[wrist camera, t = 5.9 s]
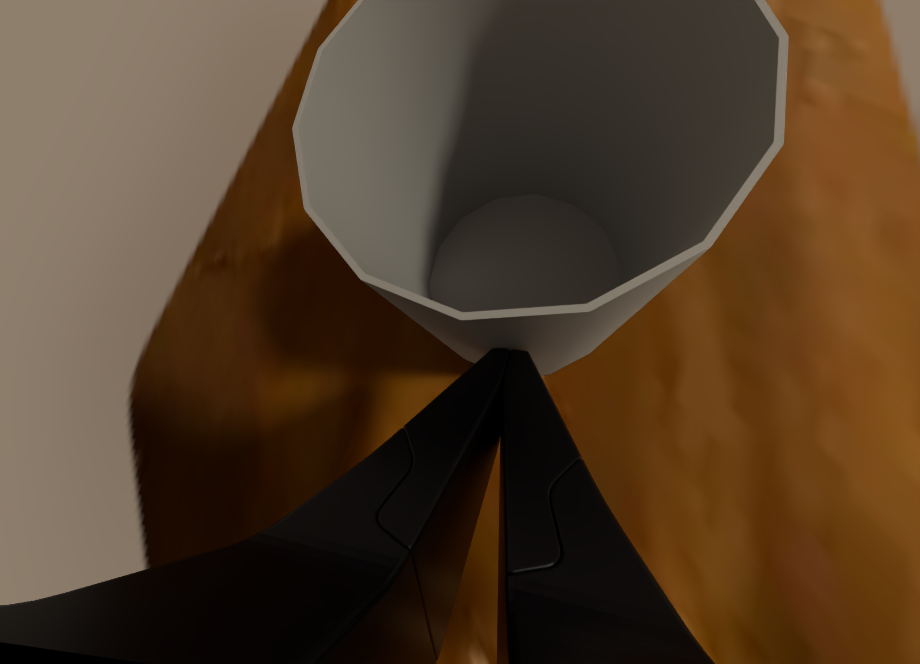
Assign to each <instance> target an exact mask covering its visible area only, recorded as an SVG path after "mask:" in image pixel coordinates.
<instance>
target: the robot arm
mask: <svg viewBox="0 0 920 664" xmlns="http://www.w3.org/2000/svg"><path fill="white" fill-rule="evenodd" d="M500 437H501V440H500ZM499 442H500V488H499V556H498V624H497V664H715V663H714V662H713V661H712V659H711V658H710V657H709V656H708V655H707V653H706V652H705V651H704V650H703V648H702V647H701V646H700V644H699V643H698V642H697V640H696V639H695V638H694V636H693V635H692V634H691V632H690V631H689V629H688V628H687V626H686V625H685V623H684V622H683V620H682V619H681V617H680V616H679V614H678V613H677V611H676V610H675V608H674V607H673V605H672V604H671V602H670V601H669V599H668V598H667V596H666V595H665V593H664V592H663V590H662V589H661V587H660V585H659V584H658V582H657V581H656V579H655V578H654V576H653V575H652V573H651V572H650V570H649V569H648V567H647V566H646V564H645V563H644V561H643V560H642V558H641V557H640V555H639V554H638V552H637V551H636V549H635V548H634V546H633V544H632V543H631V541H630V540H629V538H628V537H627V535H626V534H625V532H624V531H623V529H622V527H621V526H620V524H619V523H618V521H617V519H616V518H615V516H614V515H613V513H612V511H611V510H610V508H609V507H608V505H607V503H606V502H605V500H604V498H603V496H602V494H601V493H600V491H599V489H598V487H597V485H596V483H595V482H594V480H593V478H592V476H591V474H590V472H589V470H588V468H587V466H586V464H585V462H584V460H582V459H581V458H582V457H581V455H580V453H579V451H578V449H577V447H576V445H575V443H574V441H573V439H572V437H571V435H570V433H569V431H568V429H567V427H566V425H565V423H564V421H563V419H562V417H561V415H560V413H559V411H558V409H557V407H556V405H555V403H554V401H553V399H552V397H551V395H550V393H549V391H548V389H547V387H546V385H545V383H544V381H543V379H542V377H541V375H540V373H539V371H538V369H537V367H536V365H535V363H534V361H533V359H532V357H531V355H530V354H529V352H528V351H523V350H514V349H513V350H511V351H510V350H509V349H505V348H493V349H491V350H490V351H488V352H487V353H486V354H485V355H484V356H483V357H482V358H480V359H479V360H478V361H477V362H476V363H475V364H474V365H473V366H471V367H470V368H469V369H468V370H467V371H466V372H465V373H463V374H462V375H461V376H460V377H459V378H458V379H457V380H456V381H454V382H453V383H452V384H451V385H450V386H449V387H448V388H446V389H445V390H444V391H443V392H442V393H441V394H440V395H439V396H437V397H436V398H435V399H434V400H433V401H432V402H431V403H429V404H428V405H427V406H426V407H425V408H424V409H423V410H422V411H420V412H419V413H418V414H417V415H416V416H415V417H414V418H412V419H411V420H410V421H409V422H408V423H407V424H406V425H405V426H404V429H403V428H401V429H400V430H399V431H397V432H396V433H395V434H394V435H393V436H392V437H391V438H390V439H388V440H387V441H386V442H385V443H384V444H382V445H381V446H380V447H379V448H378V449H376V450H375V451H374V452H373V453H372V454H370V455H369V456H368V457H367V458H365V459H364V460H363V461H361V462H360V463H359V464H357V465H356V466H355V467H353V468H352V469H351V470H349V471H348V472H347V473H345V474H344V475H343V476H341V477H340V478H338V479H337V480H336V481H334V482H333V483H331V484H330V485H329V486H327V487H326V488H324V489H323V490H322V491H320V492H319V493H317V494H316V495H315V496H313V497H312V498H310V499H309V500H308V501H306V502H305V503H303V504H302V505H301V506H299V507H298V508H296V509H295V510H294V511H292V512H291V513H289V514H288V515H287V516H285V517H284V518H282V519H281V520H279V521H278V522H276V523H275V524H273V525H272V526H270V527H268V528H267V529H265V530H263V531H261V532H260V533H258V534H256V535H254V536H252V537H250V538H248V539H245V540H243V541H240V542H238V543H235V544H233V545H229V546H226V547H223V548H219V549H216V550H212V551H209V552H206V553H202V554H199V555H195V556H192V557H188V558H185V559H181V560H178V561H174V562H171V563H167V564H164V565H160V566H157V567H153V568H150V569H146V570H143V571H139V572H136V573H133V574H129V575H126V576H122V577H118V578H115V579H111V580H108V581H105V582H101V583H98V584H94V585H91V586H87V587H84V588H80V589H77V590H73V591H70V592H66V593H63V594H59V595H55V596H51V597H47V598H43V599H39V600H35V601H29V602H23V603H16V604H10V605H0V664H436V661H437V660H438V657H439V653H440V650H441V646H442V643H443V639H444V636H445V632H446V629H447V625H448V622H449V618H450V615H451V611H452V608H453V604H454V601H455V597H456V594H457V590H458V587H459V583H460V580H461V576H462V573H463V569H464V566H465V562H466V558H467V555H468V551H469V548H470V544H471V541H472V537H473V534H474V530H475V527H476V523H477V520H478V516H479V513H480V509H481V506H482V502H483V499H484V495H485V492H486V488H487V485H488V481H489V478H490V474H491V471H492V467H493V464H494V460H495V457H496V453H497V450H498V446H499Z"/></svg>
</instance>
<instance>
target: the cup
mask: <svg viewBox="0 0 920 664" xmlns="http://www.w3.org/2000/svg"><path fill="white" fill-rule="evenodd" d="M788 38H789V36H788V35H787V33H786V32H785V30H784V28H783V27H782V25H781V24H780V22H779V21H778V19H777V18H776V16H775V15H774V13H773V12H772V10H771V9H770V7H769V6H768V4H767V3H766V1H765V0H358V1H357V2H356V3H355V5H354V6H353V7H352V8H351V10H350V11H349V12H348V13H347V14H346V16H345V17H344V18H343V19H342V20H341V22H340V23H339V24H338V25H337V27H336V28H335V29H334V30H333V31H332V33H331V34H330V35H329V36H328V37H327V39H326V40H325V41H324V42H323V44H322V45H321V46H320V47H319V48H318V51H317V54H316V57H315V60H314V63H313V66H312V69H311V72H310V75H309V78H308V81H307V84H306V88H305V91H304V94H303V97H302V100H301V103H300V106H299V109H298V112H297V115H296V118H295V121H294V124H293V127H292V129H293V136H294V143H295V150H296V157H297V163H298V170H299V177H300V184H301V191H302V198H303V204H304V210H305V211H306V212H307V213H308V215H309V216H310V217H311V218H312V220H313V221H314V222H315V223H316V225H317V226H318V227H319V228H320V230H321V231H322V232H323V233H324V235H325V236H326V237H327V238H328V240H329V241H330V242H331V243H332V245H333V246H334V247H335V248H336V250H337V251H338V252H339V253H340V255H341V256H342V257H343V258H344V260H345V261H346V262H347V263H348V265H349V266H350V267H351V268H352V270H353V271H354V272H355V273H356V275H357V276H358V277H359V278H360V280H362V281H363V282H364V283H366V284H367V285H368V286H369V287H371V288H372V289H373V290H375V291H376V292H377V293H379V294H380V295H381V296H383V297H384V298H385V299H386V300H388V301H389V302H390V303H392V304H393V305H394V306H396V307H397V308H398V309H400V310H401V311H402V312H404V313H405V314H406V315H407V316H409V317H410V318H411V319H413V320H414V321H415V322H417V323H418V324H419V325H421V326H422V327H423V328H424V329H426V330H427V331H428V332H430V333H431V334H432V335H434V336H435V337H436V338H438V339H439V340H440V341H442V342H443V343H444V344H445V345H447V346H448V347H449V348H451V349H452V350H453V351H455V352H456V353H457V354H459V355H460V356H461V357H463V358H464V359H465V360H468V361H470V362H472V363H476V362H477V361H478V360H479V359H480V358H482V357H483V356H484V355H485V354H486V353H487V352H488V351H490V350H491V349H493V348H505V349H509V350H510V351H511V350H513V349H514V350H523V351H528V352H529V354H530V355H531V357H532V359H533V361H534V363H535V365H536V367H537V369H538V371H539V373H540V375H549V374H551V373H553V372H555V371H557V370H559V369H561V368H563V367H565V366H566V365H568V364H570V363H572V362H574V361H576V360H578V359H580V358H582V357H584V356H585V355H587V354H589V353H590V352H592V351H593V350H594V349H595V348H596V347H597V346H598V345H600V344H601V343H602V342H603V341H604V340H605V339H606V338H607V337H609V336H610V335H611V334H612V333H613V332H614V331H615V330H617V329H618V328H619V327H620V326H621V325H622V324H623V323H625V322H626V321H627V320H628V319H629V318H630V317H631V316H633V315H634V314H635V313H636V312H637V311H638V310H639V309H641V308H642V307H643V306H644V305H645V304H646V303H647V302H649V301H650V300H651V299H652V298H653V297H654V296H655V295H657V294H658V293H659V292H660V291H661V290H662V289H663V288H665V287H666V286H667V285H668V284H669V283H670V282H671V281H673V280H674V279H675V278H676V277H677V276H678V275H679V274H681V273H682V272H683V271H684V270H685V269H686V268H687V267H689V266H690V265H691V264H692V263H693V262H694V261H695V260H697V259H698V258H699V257H700V256H701V255H702V254H703V253H705V252H706V251H707V250H708V249H709V248H710V247H711V246H712V245H713V243H714V242H715V240H716V239H717V237H718V236H719V235H720V233H721V232H722V230H723V229H724V228H725V226H726V225H727V223H728V222H729V220H730V219H731V218H732V216H733V215H734V213H735V212H736V211H737V209H738V208H739V206H740V205H741V204H742V202H743V201H744V199H745V198H746V196H747V195H748V194H749V192H750V191H751V189H752V188H753V187H754V185H755V184H756V182H757V181H758V179H759V178H760V177H761V175H762V174H763V172H764V171H765V170H766V168H767V167H768V165H769V164H770V162H771V161H772V160H773V158H774V157H775V155H776V154H777V153H778V151H779V150H780V148H781V147H782V145H783V144H784V126H785V104H786V82H787V60H788Z"/></svg>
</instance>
